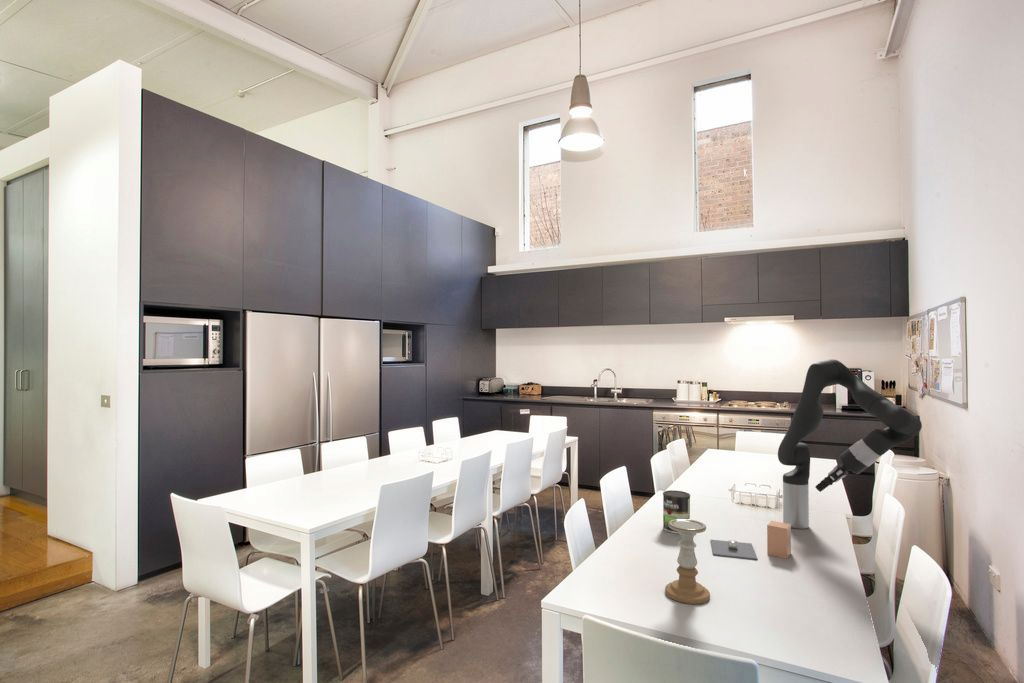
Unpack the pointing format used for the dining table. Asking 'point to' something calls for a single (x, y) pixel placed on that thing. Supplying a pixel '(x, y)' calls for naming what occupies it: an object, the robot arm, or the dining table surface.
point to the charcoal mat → (742, 550)
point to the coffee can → (675, 507)
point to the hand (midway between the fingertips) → (820, 486)
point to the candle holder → (687, 565)
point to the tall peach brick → (779, 539)
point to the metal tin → (732, 545)
